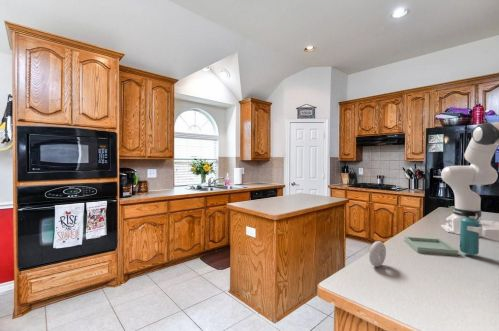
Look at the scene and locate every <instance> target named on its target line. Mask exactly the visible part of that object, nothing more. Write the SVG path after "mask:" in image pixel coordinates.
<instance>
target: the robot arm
mask: <svg viewBox="0 0 499 331" xmlns="http://www.w3.org/2000/svg"><path fill="white" fill-rule="evenodd" d="M498 147H499V121H496V122H484V123H480V124H477V125H476V126H475V127H474V128H473V130H472V137H471V139H470V141H469V143H468V145H467V147H466V149H465V152H464V154H463V157H464V160H466V162H468V163H469V164H470V165H451V166H445V167H444V168H443V169H442V170H441V172H440V177H441V180H442V182H444V183H446V184H447V185H448V187H450V188H451V189H452V191H453V192H452V193H453V195H454V207H453V209H452V213H451V214H450V215H449V216H447V217H446V218H445V219H444V223H445V224H441V225H440V227H441V228H442V229H443V230H444V231H446V232H448V233H452V234H456V235H460V226H461V221H460V220H461V219H462V218H464V217H468V218H474V219H476V220H478V221H479V227H473V226H467V230H469V231H474V232H477V233H479V238H480V237H481V238H486V239H488V240H493V241H497V242H499V221H494V220H493V221H492V220H485V219H482V210H481V201H482V197H481V196H480V195H479V193H477V192H475V191H473V190H472V189H471V187H470V186H485V185H486V186H487V185H491V184H494V183H495V182H496V181H497V179H498V176H499V175H498V171H497V170H496V169H495V168H494V167H493V166H492V164H491V162H492V158H493V157H494V155H495V153H496V150H497V149H498ZM464 210H470V211H475V212H476V216H466V215H464Z"/></svg>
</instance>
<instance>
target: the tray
mask: <svg viewBox="0 0 499 331" xmlns="http://www.w3.org/2000/svg"><path fill="white" fill-rule="evenodd" d="M403 242H405V243H406V244H407V246H409V247H410V248H411V249H412V250H414V252H416V253H418V254H428V255H429V254H430V255H441V256H442V255H443V256H455V257H458V256H459V249H457V248H455V247H454V246H452V245H451V244H449V243H447V242H446V241H444V240H443V239H441V238H433V237H416V236H404V238H403Z"/></svg>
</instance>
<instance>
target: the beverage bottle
mask: <svg viewBox="0 0 499 331" xmlns="http://www.w3.org/2000/svg"><path fill="white" fill-rule="evenodd" d="M464 215H466V216H476V212H475V211H470V210H464ZM460 221H461V226H460V234H459V251H460V252H461V253H464V254H467V255H475V256H476V255H479V252H480V251H479V250H480V237H479V233H477V232H474V231H469V230H467V226H473V227H479V221H478V220H476V219H474V218H468V217H464V218H462V219H461V220H460Z"/></svg>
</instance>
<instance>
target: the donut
mask: <svg viewBox="0 0 499 331" xmlns="http://www.w3.org/2000/svg"><path fill="white" fill-rule="evenodd" d="M386 255H387V249H386V245H385V243H383V242H382V241H380V240H376V241H374V242H373V243H372V245H371V246H370V249H369V255H368V257H369V262H370V264H371V265H372V266H373V267H376V268H379V267H381V266H382V265H383V264H384V262H385V259H386Z"/></svg>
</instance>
